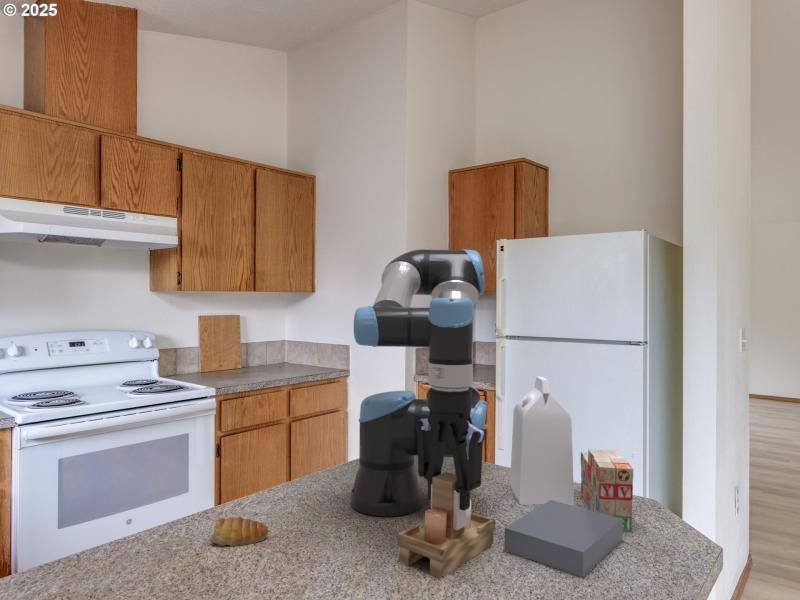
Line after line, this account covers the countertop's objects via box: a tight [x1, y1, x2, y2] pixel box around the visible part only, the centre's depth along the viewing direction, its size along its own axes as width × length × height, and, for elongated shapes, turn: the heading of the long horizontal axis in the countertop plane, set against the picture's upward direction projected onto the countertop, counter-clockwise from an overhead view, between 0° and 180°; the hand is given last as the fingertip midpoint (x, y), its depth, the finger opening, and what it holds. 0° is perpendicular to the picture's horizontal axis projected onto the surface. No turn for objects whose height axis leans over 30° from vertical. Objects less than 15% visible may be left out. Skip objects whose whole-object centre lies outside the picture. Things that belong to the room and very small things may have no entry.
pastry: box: [211, 516, 269, 547], centre depth 102 cm, size 9×7×4 cm
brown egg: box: [424, 508, 447, 544], centre depth 94 cm, size 4×4×4 cm
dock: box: [503, 500, 624, 578], centre depth 100 cm, size 14×18×4 cm
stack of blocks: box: [580, 448, 634, 533], centre depth 117 cm, size 21×6×12 cm, turn 171°
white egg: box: [464, 498, 472, 530], centre depth 100 cm, size 4×4×4 cm
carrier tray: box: [397, 471, 496, 579], centre depth 97 cm, size 16×9×13 cm, turn 140°
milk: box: [509, 375, 575, 506], centre depth 126 cm, size 12×12×26 cm
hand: (448, 523), depth 97 cm, fingers closed on carrier tray, 4 cm apart
